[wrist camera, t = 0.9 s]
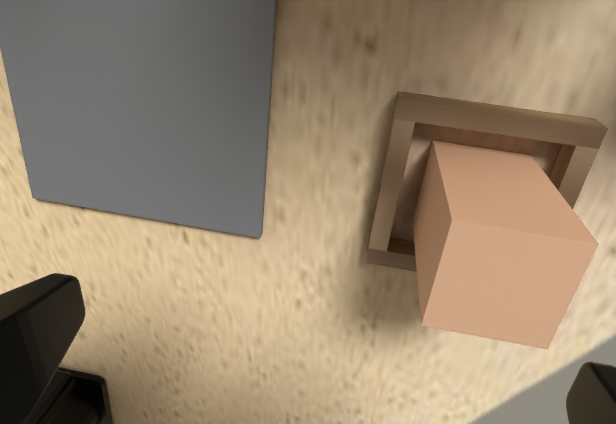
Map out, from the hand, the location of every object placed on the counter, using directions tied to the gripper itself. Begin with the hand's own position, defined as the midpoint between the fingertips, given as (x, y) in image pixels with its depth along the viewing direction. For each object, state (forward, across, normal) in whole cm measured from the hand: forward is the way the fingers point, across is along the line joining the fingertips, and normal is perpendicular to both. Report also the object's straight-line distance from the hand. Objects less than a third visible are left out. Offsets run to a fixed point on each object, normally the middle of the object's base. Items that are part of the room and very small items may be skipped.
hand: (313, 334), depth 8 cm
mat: (+13, +10, 0) cm, 16 cm away
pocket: (+13, -5, +2) cm, 14 cm away
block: (+13, -5, +2) cm, 14 cm away
